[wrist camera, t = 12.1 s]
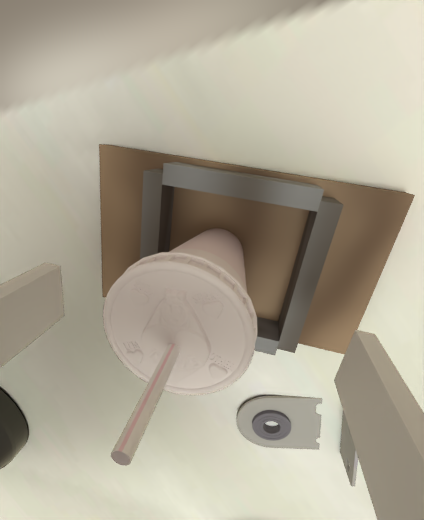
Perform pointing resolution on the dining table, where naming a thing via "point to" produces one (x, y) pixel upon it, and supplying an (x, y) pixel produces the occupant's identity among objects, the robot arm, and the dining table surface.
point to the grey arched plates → (292, 426)
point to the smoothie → (181, 324)
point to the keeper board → (257, 236)
